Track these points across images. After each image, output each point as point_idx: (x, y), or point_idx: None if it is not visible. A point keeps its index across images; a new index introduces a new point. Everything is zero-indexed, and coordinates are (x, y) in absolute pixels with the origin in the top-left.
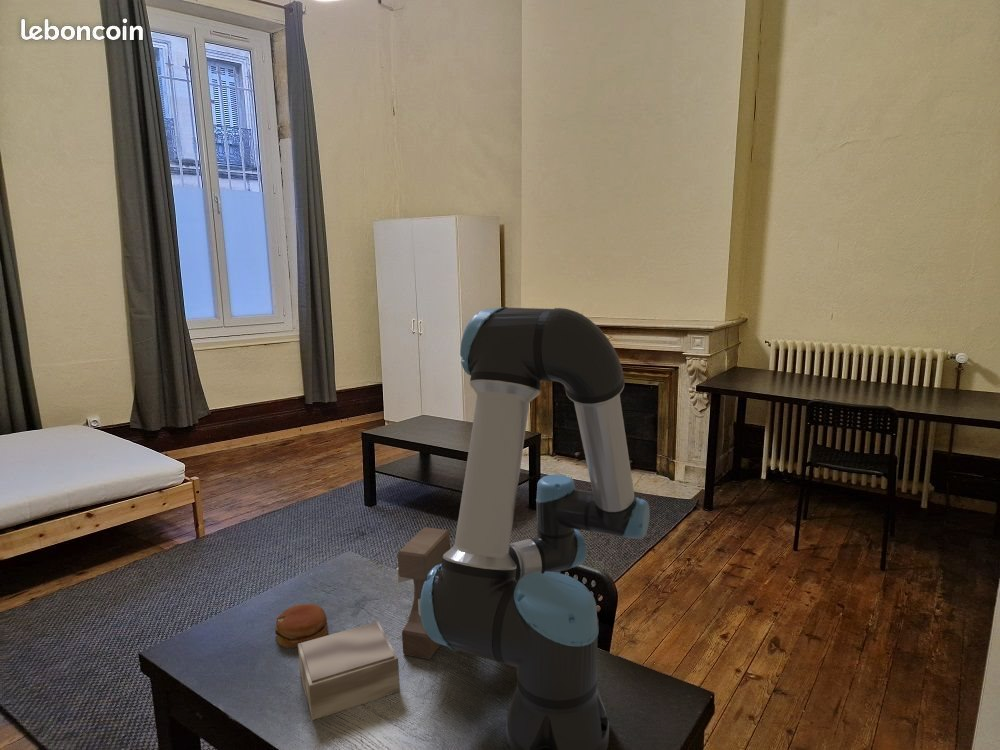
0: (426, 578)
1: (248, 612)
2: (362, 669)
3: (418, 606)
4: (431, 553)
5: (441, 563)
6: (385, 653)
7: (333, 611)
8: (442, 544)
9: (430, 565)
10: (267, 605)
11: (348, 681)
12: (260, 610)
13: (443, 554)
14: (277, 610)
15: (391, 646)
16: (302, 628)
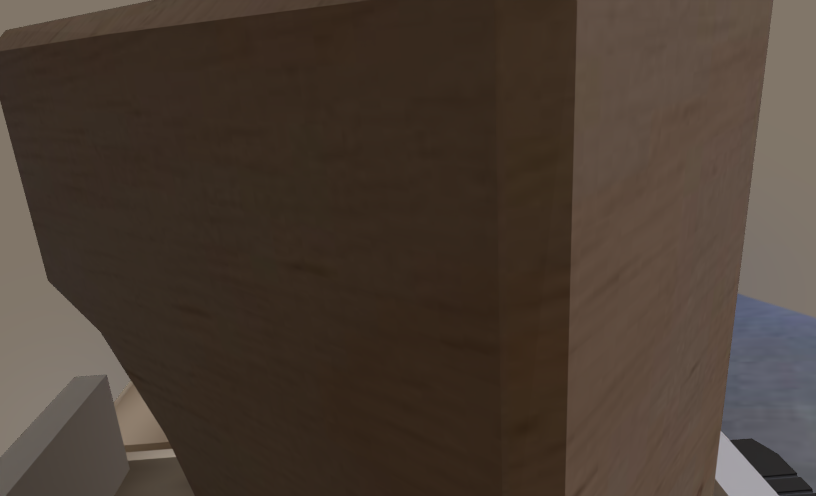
0: (51, 275)
1: (752, 308)
2: (130, 380)
3: (112, 420)
4: (38, 80)
5: (226, 394)
6: (133, 428)
7: (779, 453)
8: (222, 131)
9: (56, 204)
10: (800, 330)
11: None
12: (766, 321)
13: (265, 326)
14: (770, 344)
15: (170, 456)
16: None
